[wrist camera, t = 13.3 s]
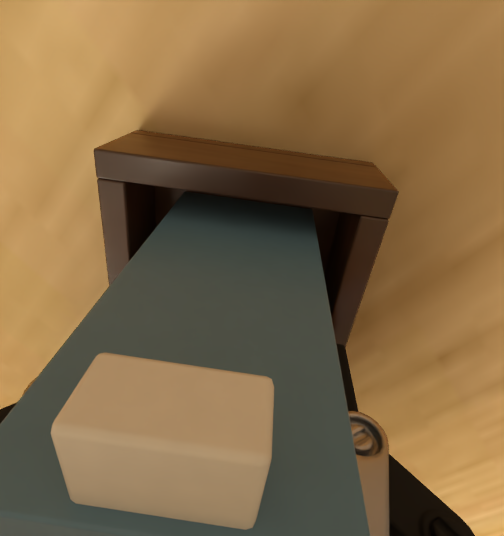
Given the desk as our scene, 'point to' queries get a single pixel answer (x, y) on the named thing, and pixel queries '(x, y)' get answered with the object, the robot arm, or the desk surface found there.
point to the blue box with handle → (193, 393)
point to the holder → (253, 189)
